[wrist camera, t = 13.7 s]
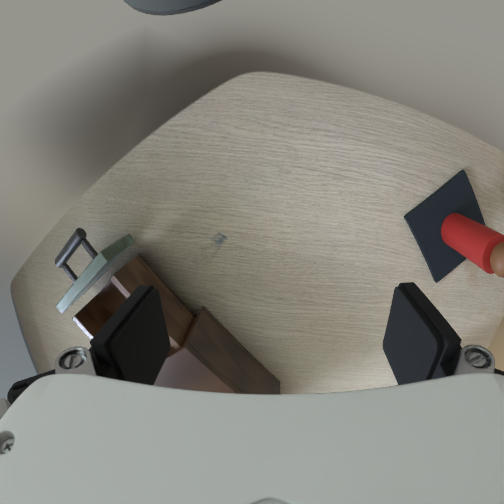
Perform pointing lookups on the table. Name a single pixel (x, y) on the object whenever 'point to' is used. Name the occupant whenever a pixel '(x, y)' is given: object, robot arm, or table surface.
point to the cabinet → (214, 363)
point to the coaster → (432, 217)
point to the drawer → (117, 288)
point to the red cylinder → (475, 242)
